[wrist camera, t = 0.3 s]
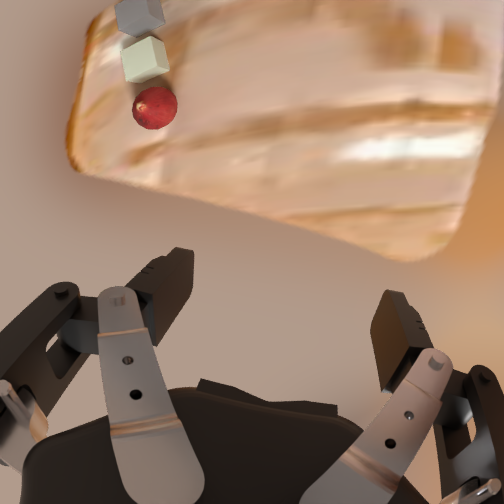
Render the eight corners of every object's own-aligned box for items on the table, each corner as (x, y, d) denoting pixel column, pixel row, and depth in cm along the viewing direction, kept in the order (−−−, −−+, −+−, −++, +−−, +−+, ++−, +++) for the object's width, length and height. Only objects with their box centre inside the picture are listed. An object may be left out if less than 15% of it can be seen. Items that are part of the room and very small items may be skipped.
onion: (175, 135, 38) (146, 138, 31) (143, 119, 37) (111, 120, 30) (193, 98, 35) (167, 92, 28) (160, 83, 35) (130, 77, 28)
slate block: (132, 14, 31) (114, 5, 26) (160, 0, 29) (144, -11, 25) (136, 37, 32) (118, 30, 28) (165, 23, 31) (149, 14, 26)
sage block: (135, 56, 34) (120, 51, 30) (163, 42, 32) (150, 35, 29) (141, 83, 35) (126, 80, 32) (170, 70, 34) (157, 65, 30)
